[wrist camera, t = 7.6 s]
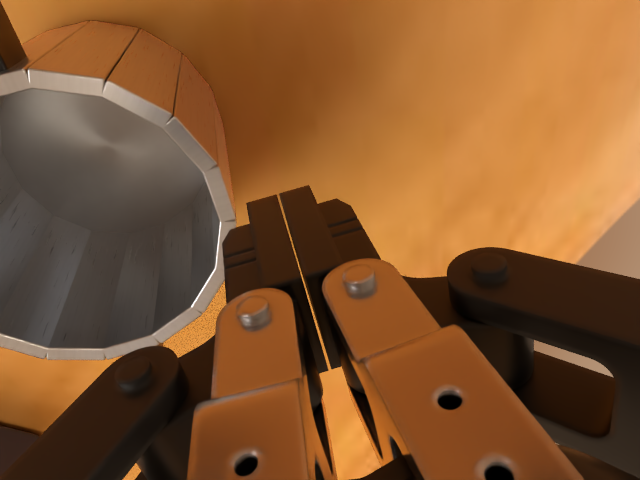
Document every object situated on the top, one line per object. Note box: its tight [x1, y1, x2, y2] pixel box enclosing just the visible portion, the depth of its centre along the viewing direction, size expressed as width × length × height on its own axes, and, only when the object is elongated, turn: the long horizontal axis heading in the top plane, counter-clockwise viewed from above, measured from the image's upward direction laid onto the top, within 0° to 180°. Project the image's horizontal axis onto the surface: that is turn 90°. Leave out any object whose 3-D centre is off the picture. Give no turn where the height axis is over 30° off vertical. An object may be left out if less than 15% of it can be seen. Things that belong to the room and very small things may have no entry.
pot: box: [0, 2, 237, 360], centre depth 19 cm, size 9×12×9 cm
